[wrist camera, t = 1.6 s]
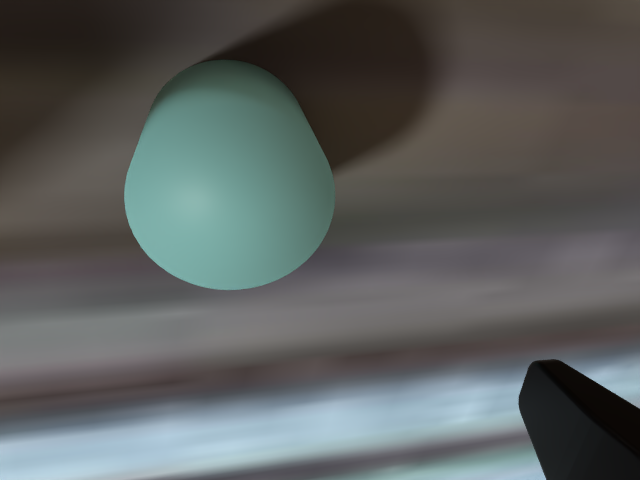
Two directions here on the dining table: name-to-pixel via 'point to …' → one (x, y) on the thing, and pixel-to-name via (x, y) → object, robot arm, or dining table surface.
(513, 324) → the dining table surface
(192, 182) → the seafoam tapered dome
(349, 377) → the dining table surface
